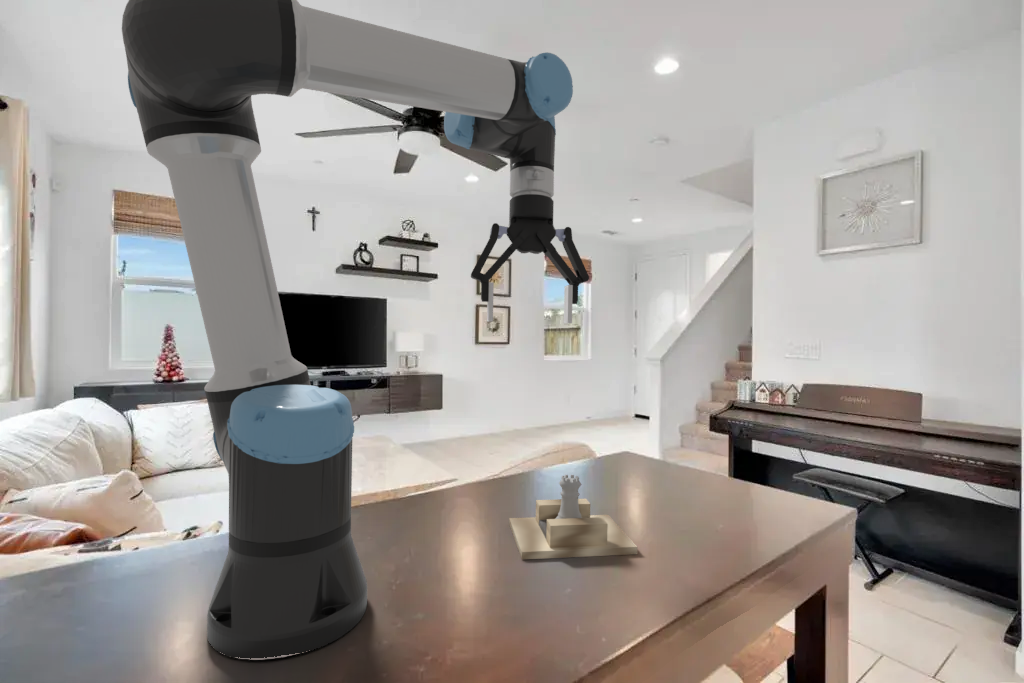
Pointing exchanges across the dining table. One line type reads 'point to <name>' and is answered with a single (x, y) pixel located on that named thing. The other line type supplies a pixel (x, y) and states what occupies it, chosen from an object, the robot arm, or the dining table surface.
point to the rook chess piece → (569, 498)
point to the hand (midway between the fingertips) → (529, 322)
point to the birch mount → (568, 534)
